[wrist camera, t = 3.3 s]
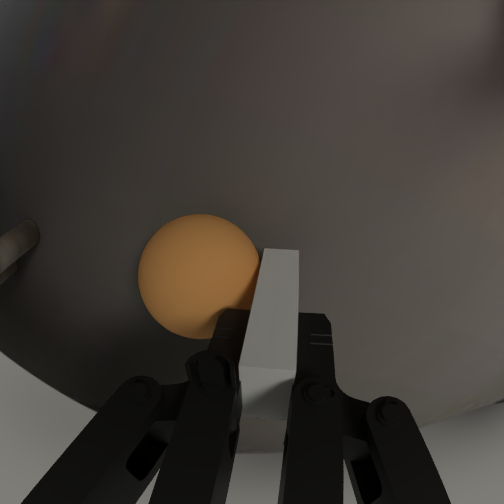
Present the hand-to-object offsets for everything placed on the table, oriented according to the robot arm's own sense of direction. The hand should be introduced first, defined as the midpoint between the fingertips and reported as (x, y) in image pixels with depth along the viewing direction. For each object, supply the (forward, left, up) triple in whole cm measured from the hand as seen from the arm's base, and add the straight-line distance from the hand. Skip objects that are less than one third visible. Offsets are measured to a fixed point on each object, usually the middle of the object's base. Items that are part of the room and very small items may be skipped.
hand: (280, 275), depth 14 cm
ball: (0, -3, +1) cm, 4 cm away
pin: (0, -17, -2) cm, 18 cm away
